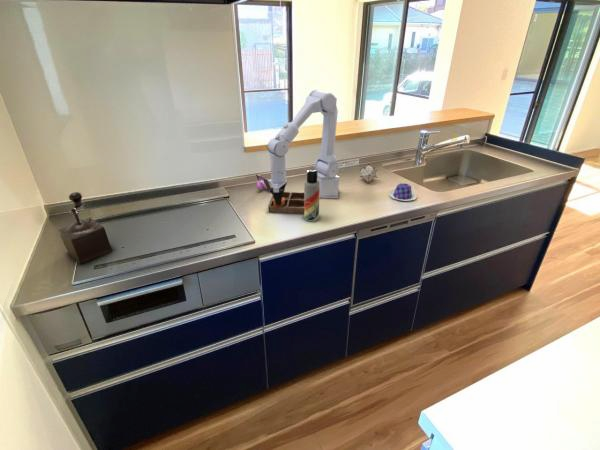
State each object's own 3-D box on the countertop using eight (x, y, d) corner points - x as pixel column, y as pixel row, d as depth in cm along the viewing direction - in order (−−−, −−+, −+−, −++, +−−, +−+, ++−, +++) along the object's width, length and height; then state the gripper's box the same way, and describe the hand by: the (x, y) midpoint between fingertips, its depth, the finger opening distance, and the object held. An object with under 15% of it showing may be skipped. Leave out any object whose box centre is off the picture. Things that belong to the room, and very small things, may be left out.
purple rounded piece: (268, 179, 152) (257, 173, 158) (259, 185, 150) (248, 179, 156) (273, 190, 157) (262, 184, 163) (264, 197, 155) (253, 190, 161)
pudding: (404, 189, 159) (406, 178, 157) (422, 199, 150) (424, 188, 147) (383, 193, 155) (384, 182, 152) (399, 204, 145) (401, 193, 143)
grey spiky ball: (364, 186, 171) (365, 167, 172) (380, 184, 165) (381, 164, 166) (355, 182, 164) (356, 162, 165) (371, 180, 158) (372, 159, 160)
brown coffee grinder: (115, 249, 116) (99, 201, 107) (80, 265, 108) (60, 214, 100) (94, 234, 124) (78, 189, 115) (60, 248, 117) (40, 200, 108)
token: (285, 202, 143) (285, 196, 142) (284, 207, 139) (284, 201, 138) (274, 201, 144) (274, 196, 142) (272, 206, 139) (272, 201, 138)
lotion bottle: (308, 223, 132) (309, 173, 122) (301, 216, 136) (301, 168, 126) (321, 219, 134) (323, 171, 124) (314, 213, 138) (315, 166, 128)
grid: (307, 198, 151) (308, 192, 150) (305, 214, 138) (305, 208, 137) (274, 196, 152) (274, 191, 151) (268, 212, 139) (268, 206, 138)
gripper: (271, 163, 140) (272, 193, 147) (264, 176, 128) (266, 209, 135) (288, 163, 140) (288, 194, 147) (283, 177, 127) (284, 209, 134)
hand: (279, 201), depth 141 cm, fingers closed on token, 5 cm apart
